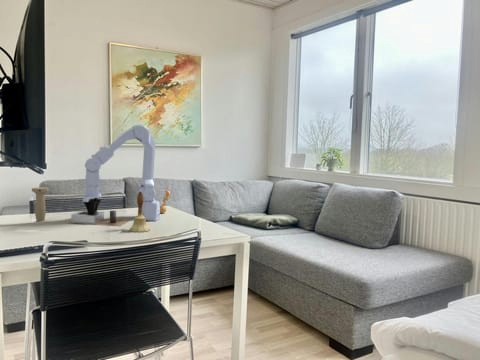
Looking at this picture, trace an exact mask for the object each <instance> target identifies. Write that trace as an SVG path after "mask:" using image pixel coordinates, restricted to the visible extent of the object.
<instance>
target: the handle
mask: <svg viewBox="0 0 480 360" xmlns="http://www.w3.org/2000/svg"><path fill="white" fill-rule="evenodd" d="M49 191H50V188H49V187H42V186H41V187H31V192H32V193H35V208H34V209H35V211H34V214H35V219H36V222H39V223H41V222H45V220H46V213H47V212H46V211H47V210H46V195H45V194H46V193H48V192H49Z"/></svg>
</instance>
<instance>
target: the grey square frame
mask: <svg viewBox="0 0 480 360" xmlns="http://www.w3.org/2000/svg"><path fill="white" fill-rule="evenodd" d="M70 218H71V221H70V223H83V224H82V225H85V224H96V223H98V222H100V221H102V220H104V219H105V211H98V210H97V211H95V213H94V215H88V212H87V210H80V211H78V212H75V213H72V214H71V217H70Z"/></svg>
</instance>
